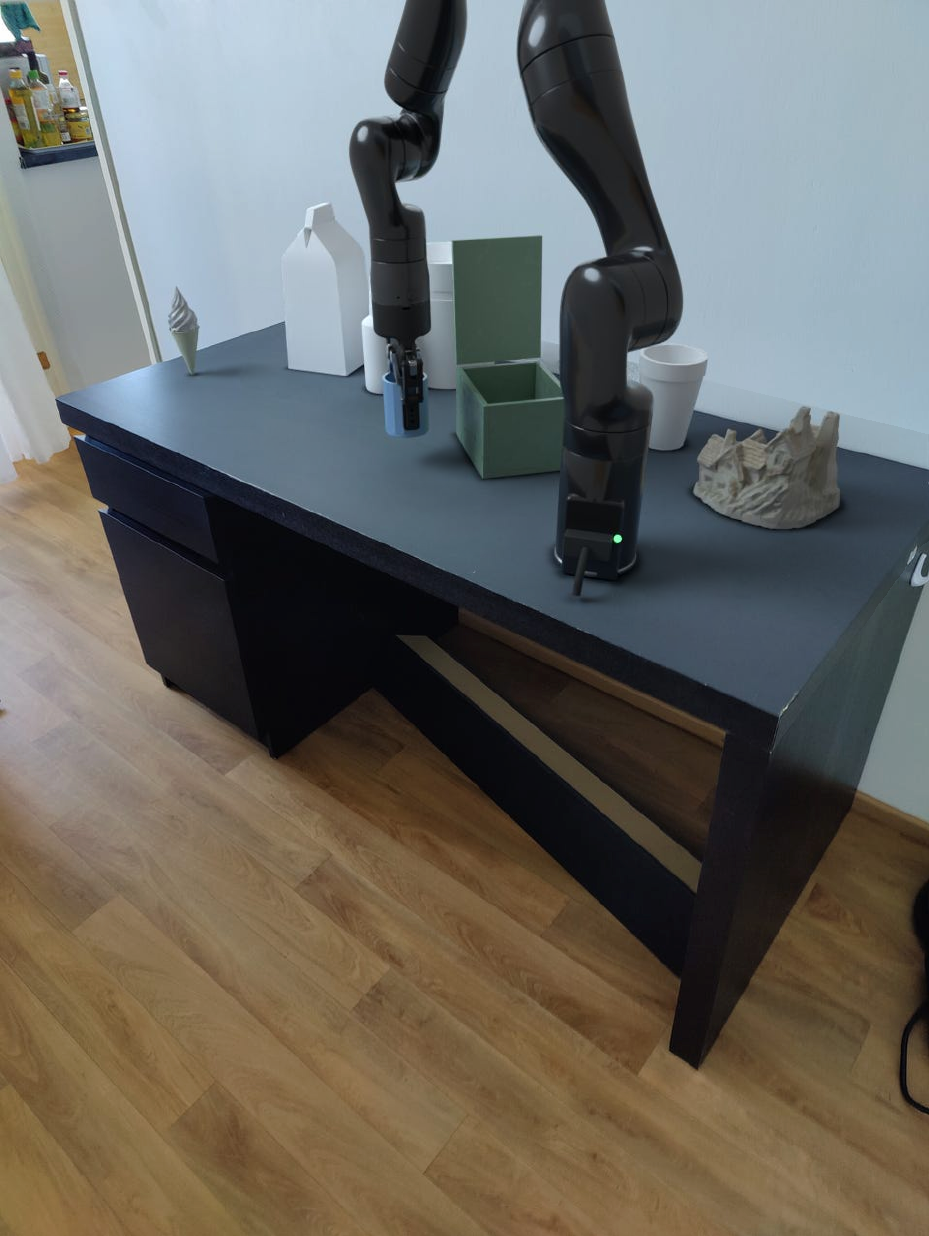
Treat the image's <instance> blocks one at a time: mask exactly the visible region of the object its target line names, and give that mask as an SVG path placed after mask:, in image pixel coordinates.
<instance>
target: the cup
mask: <svg viewBox="0 0 929 1236" xmlns="http://www.w3.org/2000/svg"><path fill="white" fill-rule="evenodd" d="M400 378H401V379H403V377H400ZM382 381H383V394H382V396H383V408H384V410H383V412H384V425H385V432H386V434H388V435H389V436H391V437H394V438H399V439H413V438H418V437H422V436H423V435H426V434H427V433H428V432H429V430H430V416H429V415H430V414H429V409H430V408H429V387H428V381H427V374H425V373H424V372H423V397H424V400H423V403H419V416H420V428H419V429H418V430H410V431H406V430H405V429H404V428H403V418H402V402H401V401H400V398H401V395H400V388H399V387H398V386H396V384H395V377H394V374H393V373H392V372H388V373H386V374H384V375H383V376H382ZM408 394H415V387H413V388H409V389H408Z"/></svg>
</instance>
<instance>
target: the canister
mask: <svg viewBox="0 0 929 1236" xmlns="http://www.w3.org/2000/svg"><path fill="white" fill-rule="evenodd" d="M426 243H427V263H428V269H429V276H430V306H431V330H430V332H429V333H428V334H426V335H424V336H420V337H418V338H417V339H416V340H415V343H416V344H417V349H418V348H420V351H421V359H422V361H423V372H424V373H425V374H427V381H428V389H429V388H430V389H435V390H436V389H437V390H438V389H439V390H456V368H457V367H469V366H481V365H492V364H496V362H484V363H472V364H460V365H456V364H455V341H454V309H453V278H452V247H451V241H433V242H426Z"/></svg>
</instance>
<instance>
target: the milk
mask: <svg viewBox="0 0 929 1236" xmlns="http://www.w3.org/2000/svg"><path fill="white" fill-rule="evenodd" d="M305 211H306V213H305V220H304V226H303V228H301V229H300V231H299V232H298V233H297V235H296V237H295V238H294V239H293V241H292V242H291V243H290V244H289V246H288V247H287V248H286V249H285V251H284V252H283V254H282V256H281V259H280V269H281V270H280V271H281V284H282V298H283V310H284V311H283V312H284V327H285V340H286V341H285V342H286V352H287V353H286V354H287V367H288V368H287V369H289V370H297V371H304V372H311V373H319V374H327V375H334V376H342V377H347V376H349V375H350V374H352V373H354V371H356V370H357V369H358V368H360V367H361V366H363V365H364V352H363V338H362V321H363V320H364V319H365V318H366V317H368V316H369V315H370V313H369V290H370V289H369V281H368V280H369V279H368V272H367V264H366V256H365V252H364V249H363V247H362V246H361V244H360V243H359V242H358V241H357V240H356V239H355V237H353V235H351V233H349V232H348V230H347V229H345V228H344V227H343V225H342V224H341V223H340V222H338V220H336V216H335V212H334V208H333V205H332V202H322V203H319V204H316V205H312V206H311V207H308V208H306V210H305Z"/></svg>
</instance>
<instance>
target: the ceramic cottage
mask: <svg viewBox="0 0 929 1236" xmlns="http://www.w3.org/2000/svg"><path fill="white" fill-rule="evenodd" d="M811 409H812V407H809V406H805V405H804V406H803V405H801V406H800V408H799V409H798V410H797V412H796V414H795V415H794V417H793V418H792V419H791V420H790V424H789V426H788V427H786V428H784V429H782V430H780V431H779V432H777V433H776V434H775V435H776V436H774V438H772V439H771V440H769V442H768V441H767V438H766V436H765V431H764V429H763V428H759V429H757V430H756V431H755V432H754V433H753V434H752V435H750V436H749V437H747V438H745V439H744V440H742V441H739V440H738V441H737V431H736V430H732V429H731V428H727V431H726V433H725V436H724V437H722V436H720V435H719V434H717V433H715V434H711V437H710V438H709V439H708V440H707V443H706V444H705V446H703V448H702V449H701V451H700V453H699V454H698V456H697V458H696V462H697V463H698V464H699V466H698V481H696V483H695V485H694V488H693V492H692V493H693V494H694V496H695V497H697V498H698V499H699V498H700V500H701V501H702V503H704V504H707V505H708V506H709V507H711V509H713V510H714V512H716V513H717V512H718V513H719V514H721V515H724V516H726V517H729V518H731V519H733V520H739V521H740V520H741V522H742V523H746V524H750V525H754V526H756V527H757V526H758V527H759V526H761V528H765V529H766V528H767V529H770V530H774V529H775V530H792V529H801V528H805V527H807V526H810V525H811V524H813V523H815V522H817V520H820V519H822V518H825V517H826V516H827V515H830V514H831V513H833V512H834V511H836V510H837V509H839V508H840V502H841V489H840V487H839V486H838V483H837V481H838V474H839V473H838V472H839V470H838V469H839V468H838V464H837V463H838V462H837V459H838V457H839V453H838V451H837V450H838V449H837V448H838V443H839V441H840V433H839V432H840V431H839V428H840V420H841V419H840V418H841V415H840V413H838V412H836V411H831V410H830V411H827V412H826V413H825V415H824V416H823V418H822V419H821V423H820V425H817V424H813V423H811V420H812V415H811Z"/></svg>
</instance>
